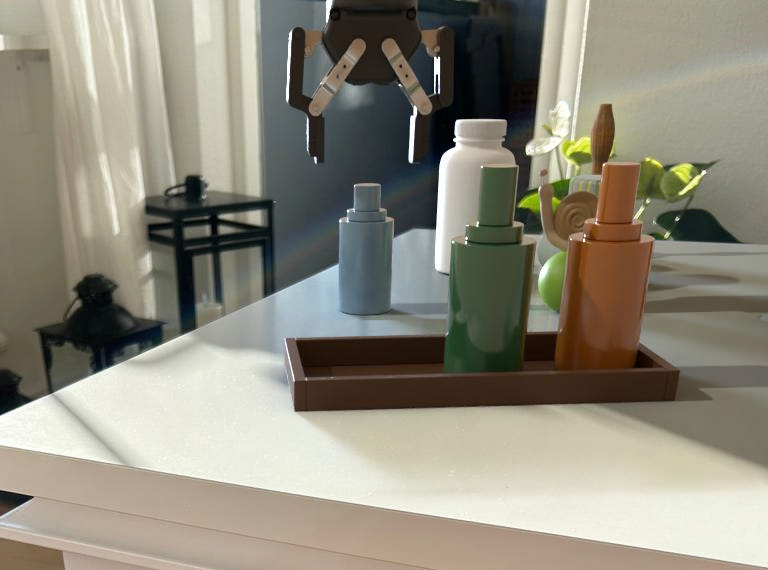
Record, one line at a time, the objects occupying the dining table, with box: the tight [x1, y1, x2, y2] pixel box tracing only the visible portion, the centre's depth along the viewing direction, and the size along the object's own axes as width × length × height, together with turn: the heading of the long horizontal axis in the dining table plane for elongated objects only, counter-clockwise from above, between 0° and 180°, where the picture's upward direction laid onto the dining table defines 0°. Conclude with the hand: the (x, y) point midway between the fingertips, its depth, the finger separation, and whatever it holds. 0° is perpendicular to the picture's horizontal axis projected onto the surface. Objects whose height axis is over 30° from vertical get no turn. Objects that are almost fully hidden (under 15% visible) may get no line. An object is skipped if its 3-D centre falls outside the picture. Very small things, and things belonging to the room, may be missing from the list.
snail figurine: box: [537, 168, 598, 313], centre depth 93 cm, size 5×6×12 cm
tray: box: [283, 330, 681, 413], centre depth 73 cm, size 26×12×3 cm, turn 93°
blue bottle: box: [337, 182, 395, 316], centre depth 95 cm, size 5×5×11 cm
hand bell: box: [589, 103, 616, 175], centre depth 117 cm, size 8×8×16 cm
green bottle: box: [443, 164, 537, 374], centre depth 69 cm, size 6×6×14 cm
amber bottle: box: [553, 161, 656, 371], centre depth 70 cm, size 6×6×14 cm
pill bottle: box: [434, 118, 516, 275], centre depth 110 cm, size 8×8×15 cm
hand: (367, 163), depth 91 cm, fingers open, 8 cm apart
